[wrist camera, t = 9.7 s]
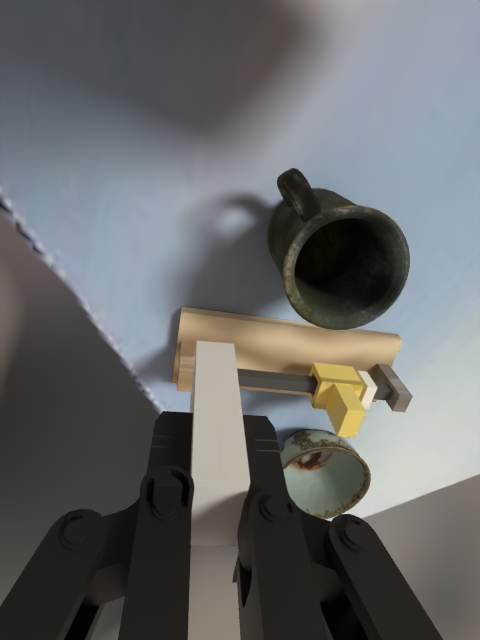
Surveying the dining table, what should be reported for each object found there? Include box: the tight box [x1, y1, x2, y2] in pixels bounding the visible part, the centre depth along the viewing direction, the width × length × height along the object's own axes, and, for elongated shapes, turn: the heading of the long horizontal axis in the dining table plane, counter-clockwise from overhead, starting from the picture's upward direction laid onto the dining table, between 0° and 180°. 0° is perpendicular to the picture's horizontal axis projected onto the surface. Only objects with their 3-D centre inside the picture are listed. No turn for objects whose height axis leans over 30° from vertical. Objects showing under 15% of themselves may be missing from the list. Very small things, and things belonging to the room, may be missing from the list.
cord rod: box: [237, 368, 394, 401], centre depth 45 cm, size 1×24×1 cm, turn 79°
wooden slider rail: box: [172, 307, 413, 412], centre depth 47 cm, size 10×28×8 cm, turn 79°
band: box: [357, 371, 377, 409], centre depth 46 cm, size 3×1×3 cm, turn 169°
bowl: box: [279, 429, 371, 519], centre depth 55 cm, size 14×13×8 cm
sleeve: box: [307, 362, 366, 438], centre depth 44 cm, size 4×5×8 cm
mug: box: [268, 168, 410, 330], centre depth 37 cm, size 11×15×12 cm
